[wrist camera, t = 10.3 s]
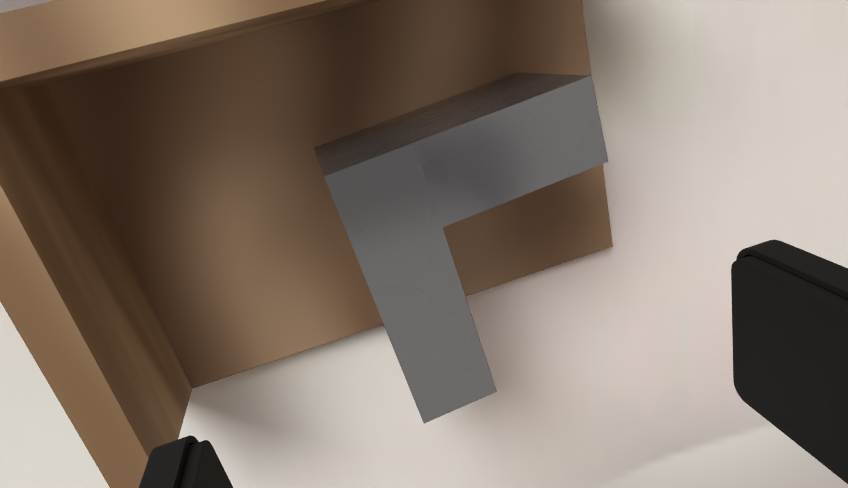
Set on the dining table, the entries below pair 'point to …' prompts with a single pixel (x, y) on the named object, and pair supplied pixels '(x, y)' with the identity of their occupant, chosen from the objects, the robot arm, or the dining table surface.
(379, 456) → the dining table surface
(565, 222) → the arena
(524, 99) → the bracket
